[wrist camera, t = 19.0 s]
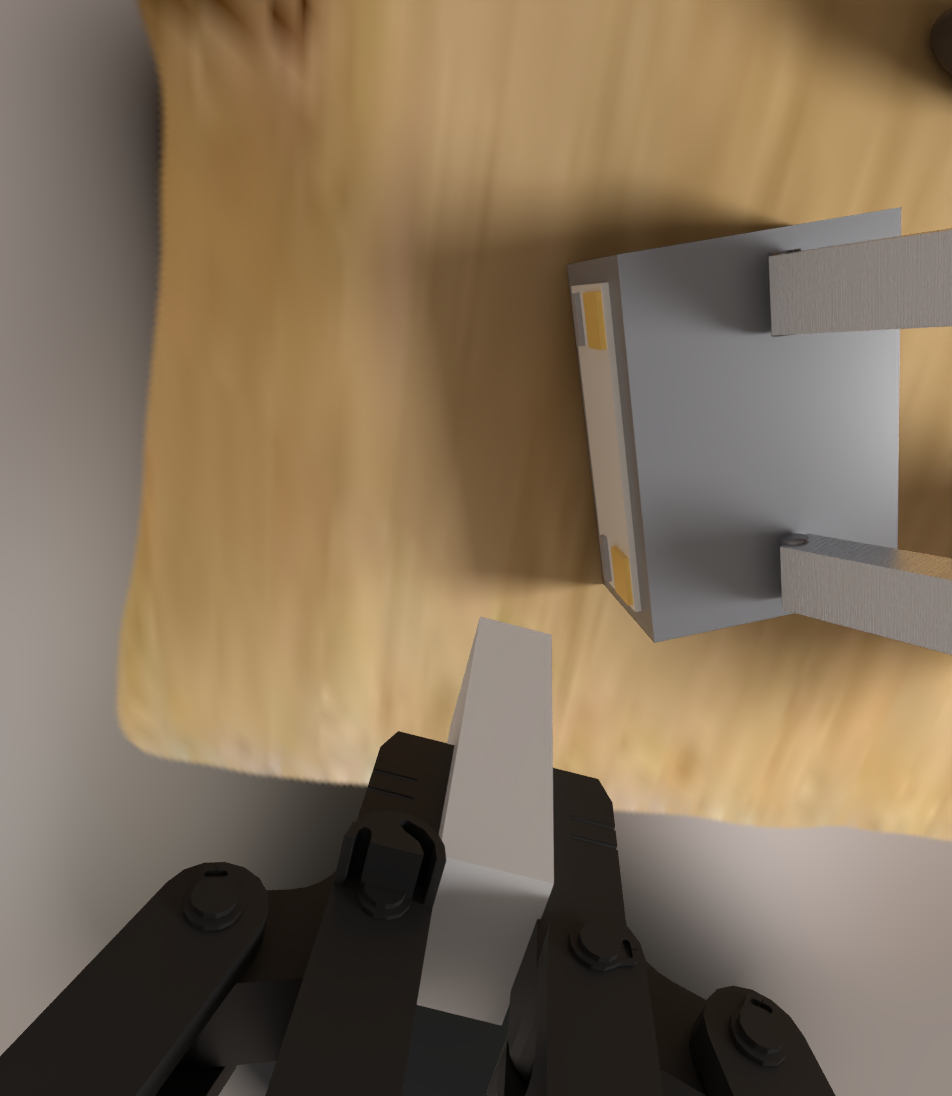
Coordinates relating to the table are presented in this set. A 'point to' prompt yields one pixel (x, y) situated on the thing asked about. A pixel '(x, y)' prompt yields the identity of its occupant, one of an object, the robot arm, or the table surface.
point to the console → (727, 425)
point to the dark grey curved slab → (943, 40)
